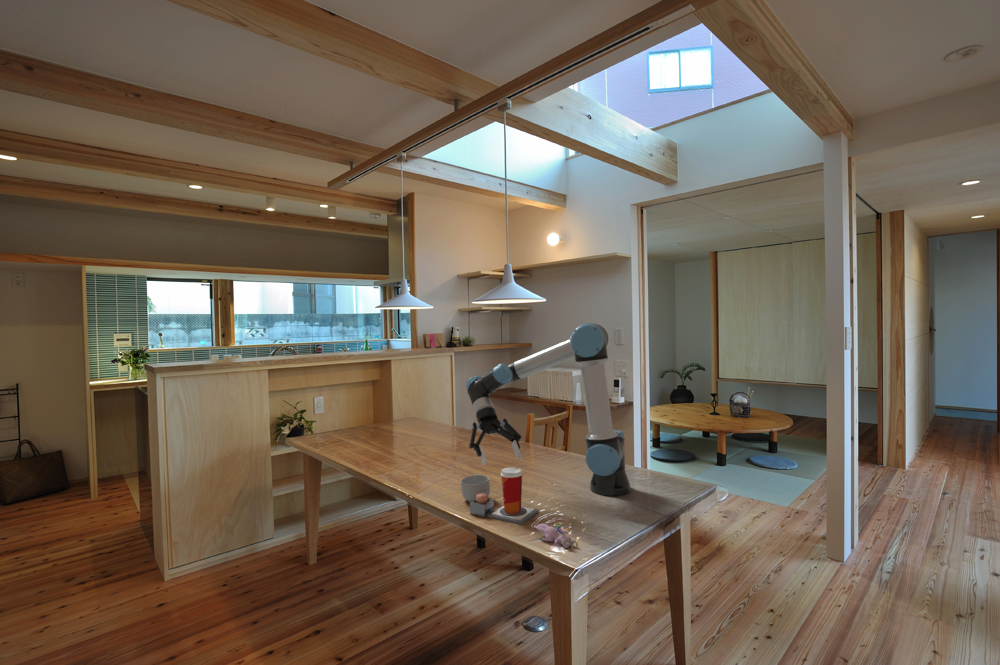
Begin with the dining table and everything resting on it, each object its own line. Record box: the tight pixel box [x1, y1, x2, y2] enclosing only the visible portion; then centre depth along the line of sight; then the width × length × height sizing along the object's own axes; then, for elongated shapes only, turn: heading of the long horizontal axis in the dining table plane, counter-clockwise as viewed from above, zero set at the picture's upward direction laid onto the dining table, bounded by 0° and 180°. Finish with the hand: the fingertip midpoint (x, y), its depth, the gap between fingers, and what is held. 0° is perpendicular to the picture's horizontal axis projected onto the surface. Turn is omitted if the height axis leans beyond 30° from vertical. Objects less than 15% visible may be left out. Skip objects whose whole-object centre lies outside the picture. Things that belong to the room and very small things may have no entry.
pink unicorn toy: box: [533, 523, 579, 552], centre depth 139 cm, size 6×6×15 cm
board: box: [487, 504, 539, 525], centre depth 161 cm, size 13×12×1 cm
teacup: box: [459, 473, 491, 503], centre depth 177 cm, size 14×11×8 cm
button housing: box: [469, 497, 495, 518], centre depth 164 cm, size 6×6×4 cm
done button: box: [476, 493, 488, 504], centre depth 164 cm, size 4×4×3 cm
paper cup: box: [499, 466, 524, 514], centre depth 161 cm, size 8×8×14 cm
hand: (502, 460), depth 168 cm, fingers open, 13 cm apart
